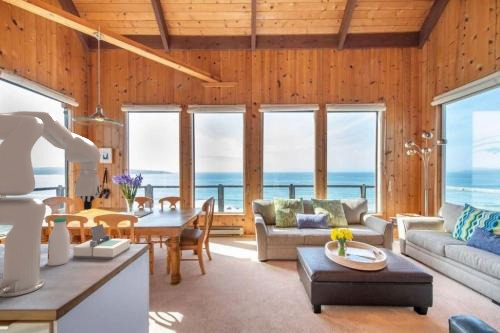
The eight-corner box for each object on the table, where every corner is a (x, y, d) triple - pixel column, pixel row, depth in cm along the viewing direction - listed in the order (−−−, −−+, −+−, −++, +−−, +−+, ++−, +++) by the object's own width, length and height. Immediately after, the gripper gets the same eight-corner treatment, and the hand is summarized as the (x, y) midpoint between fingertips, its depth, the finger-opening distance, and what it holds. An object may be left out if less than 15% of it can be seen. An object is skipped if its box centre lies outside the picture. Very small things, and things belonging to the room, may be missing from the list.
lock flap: (93, 245, 123) (97, 244, 123) (89, 228, 123) (92, 227, 123) (105, 240, 132) (107, 239, 132) (100, 224, 132) (103, 223, 132)
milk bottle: (73, 260, 116) (75, 216, 116) (59, 266, 108) (60, 219, 109) (57, 259, 117) (59, 216, 117) (42, 265, 109) (44, 219, 110)
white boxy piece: (112, 259, 119) (113, 242, 119) (73, 257, 120) (73, 241, 120) (129, 248, 135) (130, 234, 135) (94, 247, 136) (95, 233, 136)
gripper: (68, 172, 125) (67, 210, 125) (98, 173, 124) (97, 210, 124) (79, 172, 132) (78, 207, 132) (107, 173, 132) (106, 208, 132)
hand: (87, 209), depth 128 cm, fingers closed
